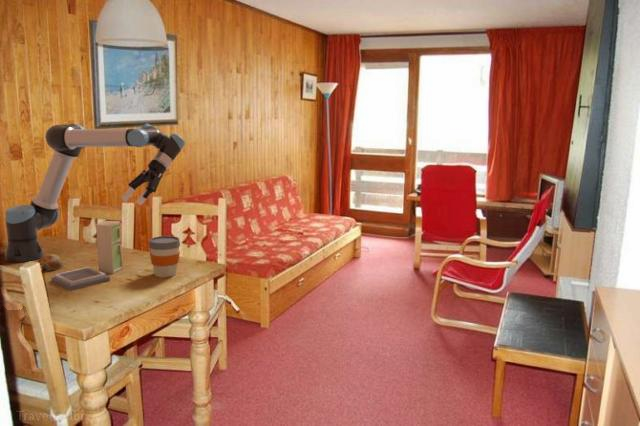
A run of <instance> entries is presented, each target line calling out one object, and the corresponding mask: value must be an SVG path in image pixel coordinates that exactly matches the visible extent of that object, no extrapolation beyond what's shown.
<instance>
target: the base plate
mask: <svg viewBox="0 0 640 426" xmlns="http://www.w3.org/2000/svg"><path fill="white" fill-rule="evenodd" d="M50 279H51V280H50V281H51V282H53V283H54V284H56V285H59V286H60V285H61V286H60V287H63V288H64V289H66V290H68V289H69V290H68V291H72V290H76V289H77V290H78V289H81V288H85V287H89V286H93V285H97V284H100V283H106V282H109V281H111V277H110V276H109V275H107V273H102V272H100V271H99V269H96V268H93V267H91V266H86V267H82V268H81V267H80V268H77V269H72V270H69V271H64V272H59V273H55V274H54V276H52V277H50Z"/></svg>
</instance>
